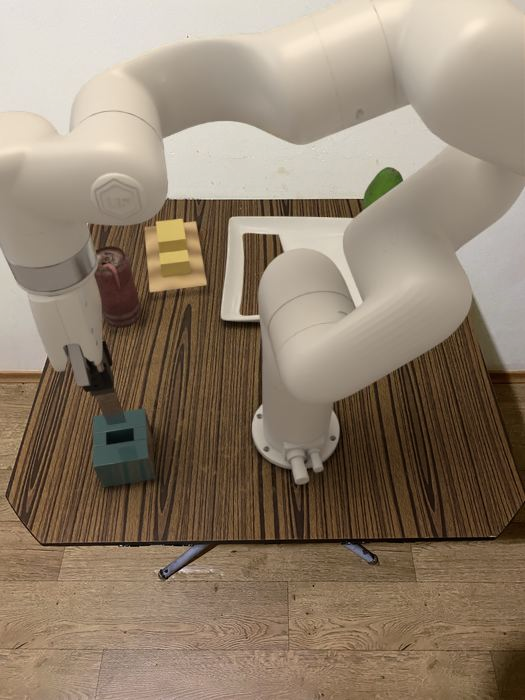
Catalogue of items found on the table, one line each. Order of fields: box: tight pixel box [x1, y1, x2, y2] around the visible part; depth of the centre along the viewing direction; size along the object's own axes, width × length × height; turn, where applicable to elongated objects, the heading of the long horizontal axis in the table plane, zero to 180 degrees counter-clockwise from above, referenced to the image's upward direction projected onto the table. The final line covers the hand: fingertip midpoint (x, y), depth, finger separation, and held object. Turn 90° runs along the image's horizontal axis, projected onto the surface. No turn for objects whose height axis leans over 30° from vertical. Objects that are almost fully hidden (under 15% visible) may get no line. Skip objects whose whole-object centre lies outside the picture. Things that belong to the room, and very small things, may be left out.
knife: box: [86, 345, 126, 425], centre depth 68 cm, size 2×3×15 cm
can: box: [94, 245, 142, 329], centre depth 92 cm, size 6×6×14 cm
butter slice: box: [159, 250, 191, 277], centre depth 102 cm, size 3×5×3 cm, turn 100°
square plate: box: [220, 215, 363, 323], centre depth 102 cm, size 27×27×4 cm
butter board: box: [144, 221, 208, 293], centre depth 106 cm, size 18×10×2 cm, turn 10°
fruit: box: [362, 166, 404, 211], centre depth 109 cm, size 8×8×12 cm
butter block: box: [155, 218, 187, 253], centre depth 107 cm, size 6×5×3 cm
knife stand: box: [92, 407, 156, 489], centre depth 78 cm, size 8×7×6 cm
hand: (99, 376), depth 66 cm, fingers closed on knife, 2 cm apart
